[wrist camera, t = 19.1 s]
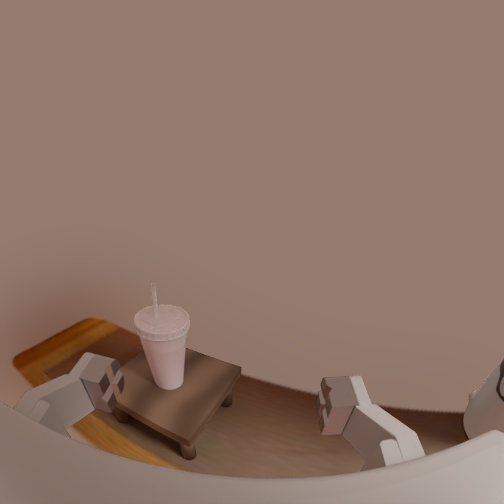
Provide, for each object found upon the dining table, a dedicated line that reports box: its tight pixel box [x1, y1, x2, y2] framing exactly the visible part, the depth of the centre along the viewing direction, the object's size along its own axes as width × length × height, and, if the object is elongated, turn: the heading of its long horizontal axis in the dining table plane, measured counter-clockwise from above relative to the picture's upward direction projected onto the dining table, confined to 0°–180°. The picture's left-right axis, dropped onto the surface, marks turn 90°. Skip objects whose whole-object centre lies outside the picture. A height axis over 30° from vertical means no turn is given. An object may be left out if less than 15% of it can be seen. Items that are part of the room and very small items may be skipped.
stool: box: [114, 348, 241, 460], centre depth 33 cm, size 14×14×7 cm
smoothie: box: [134, 281, 190, 390], centre depth 30 cm, size 6×6×14 cm
